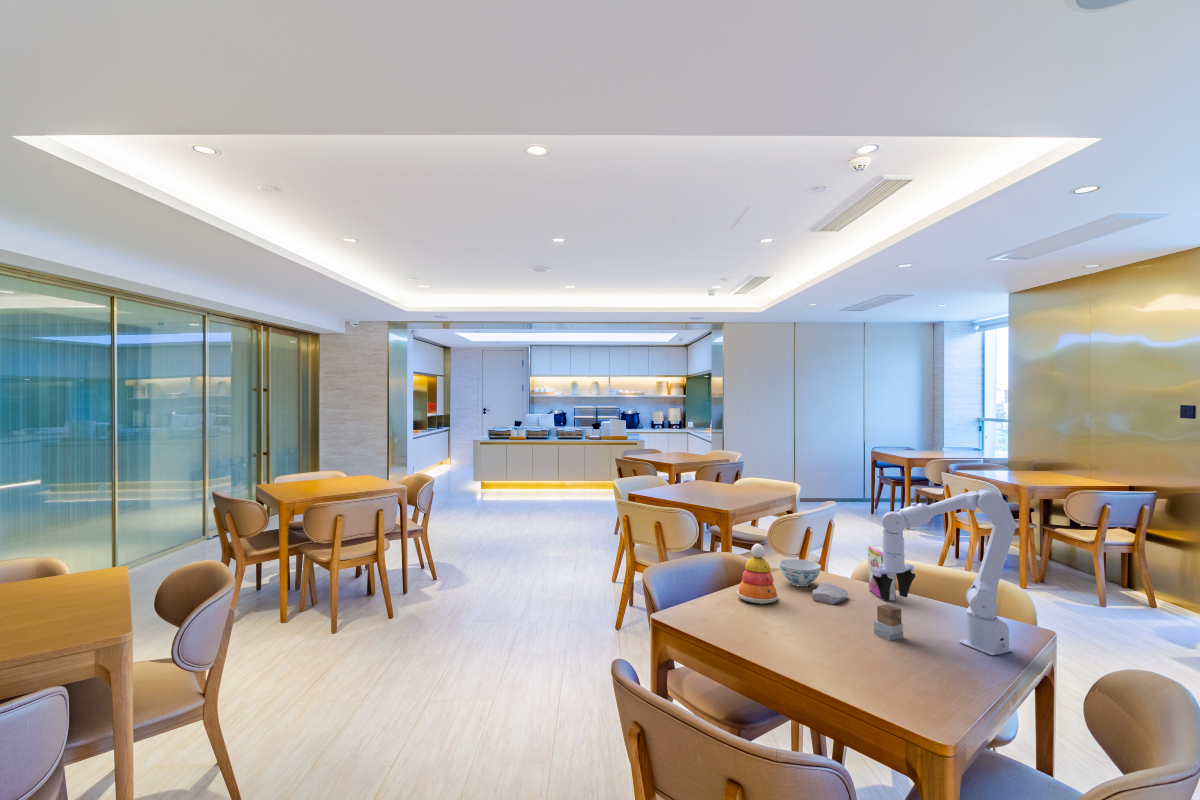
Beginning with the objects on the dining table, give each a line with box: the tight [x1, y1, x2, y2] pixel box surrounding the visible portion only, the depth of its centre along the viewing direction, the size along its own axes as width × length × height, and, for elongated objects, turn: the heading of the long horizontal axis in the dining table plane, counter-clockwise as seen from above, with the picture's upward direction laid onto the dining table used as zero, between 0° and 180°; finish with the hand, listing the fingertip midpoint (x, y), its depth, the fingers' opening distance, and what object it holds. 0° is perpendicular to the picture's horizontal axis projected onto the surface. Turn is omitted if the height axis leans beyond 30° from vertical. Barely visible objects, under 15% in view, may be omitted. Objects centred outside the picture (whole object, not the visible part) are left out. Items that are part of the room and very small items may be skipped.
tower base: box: [873, 628, 904, 641], centre depth 163 cm, size 6×6×2 cm
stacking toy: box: [736, 543, 779, 605], centre depth 195 cm, size 14×14×20 cm
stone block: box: [811, 582, 848, 605], centre depth 195 cm, size 12×5×10 cm
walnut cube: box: [876, 603, 902, 626], centre depth 162 cm, size 4×4×4 cm
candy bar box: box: [867, 546, 897, 602], centre depth 198 cm, size 11×5×16 cm, turn 178°
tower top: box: [873, 620, 904, 635], centre depth 163 cm, size 6×6×2 cm
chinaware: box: [778, 558, 822, 586], centre depth 212 cm, size 15×15×8 cm
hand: (894, 597), depth 165 cm, fingers open, 7 cm apart
